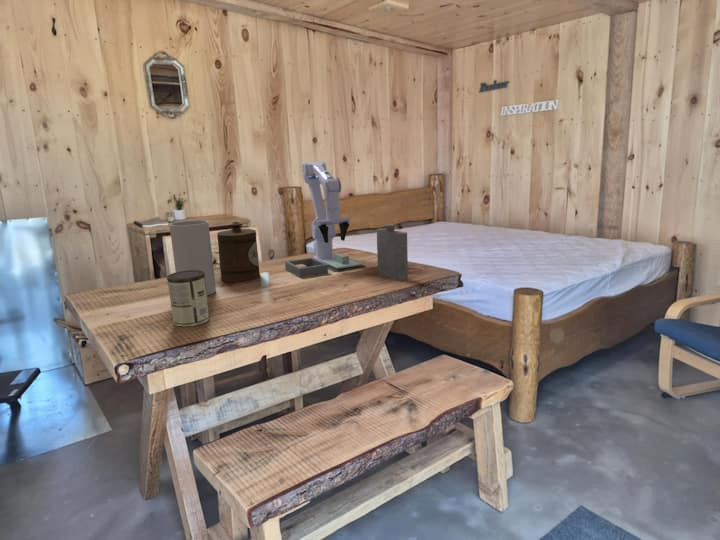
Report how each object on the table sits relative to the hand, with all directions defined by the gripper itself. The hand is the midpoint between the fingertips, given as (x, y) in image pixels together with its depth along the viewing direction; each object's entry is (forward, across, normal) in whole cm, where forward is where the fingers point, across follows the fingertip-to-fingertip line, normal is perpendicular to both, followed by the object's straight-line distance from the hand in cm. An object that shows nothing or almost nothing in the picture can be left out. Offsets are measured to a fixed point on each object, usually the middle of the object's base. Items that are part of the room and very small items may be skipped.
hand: (334, 241), depth 201 cm
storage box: (+10, -14, -2) cm, 18 cm away
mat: (+10, +2, -2) cm, 11 cm away
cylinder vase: (+11, -58, -8) cm, 60 cm away
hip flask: (+11, +9, -30) cm, 33 cm away
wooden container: (+11, -39, +6) cm, 41 cm away
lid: (+10, +2, -2) cm, 10 cm away
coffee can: (+11, -65, -37) cm, 76 cm away
